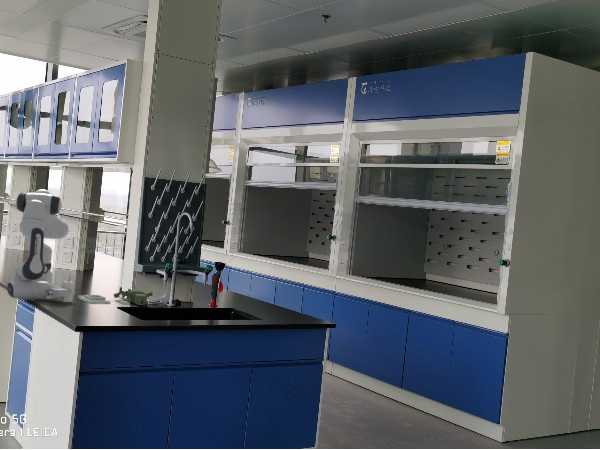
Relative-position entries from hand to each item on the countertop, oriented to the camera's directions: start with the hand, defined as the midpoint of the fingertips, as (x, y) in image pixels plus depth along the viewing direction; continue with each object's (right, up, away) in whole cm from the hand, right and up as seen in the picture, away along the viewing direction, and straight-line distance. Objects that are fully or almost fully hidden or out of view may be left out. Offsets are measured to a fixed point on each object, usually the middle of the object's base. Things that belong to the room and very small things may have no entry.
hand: (68, 290), depth 348 cm
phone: (+6, -6, +17) cm, 19 cm away
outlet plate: (+10, -7, +10) cm, 16 cm away
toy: (+27, -9, +24) cm, 38 cm away
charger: (-1, -5, -1) cm, 6 cm away
